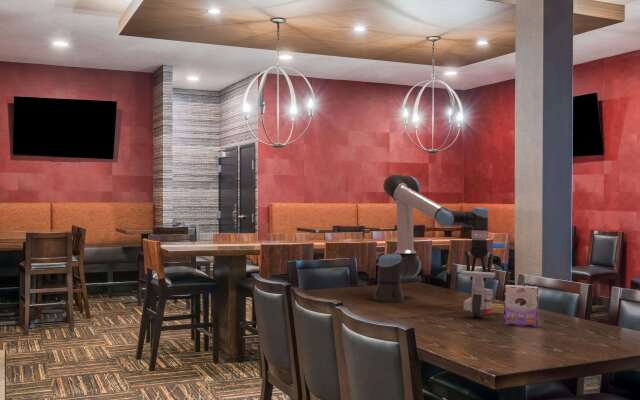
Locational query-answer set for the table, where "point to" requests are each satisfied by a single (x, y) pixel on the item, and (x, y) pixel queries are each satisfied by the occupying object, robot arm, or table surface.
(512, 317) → the candy box
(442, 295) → the table surface
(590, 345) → the table surface
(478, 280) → the white pedestal stand
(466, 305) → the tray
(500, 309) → the pin socket
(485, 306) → the ink box
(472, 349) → the table surface
